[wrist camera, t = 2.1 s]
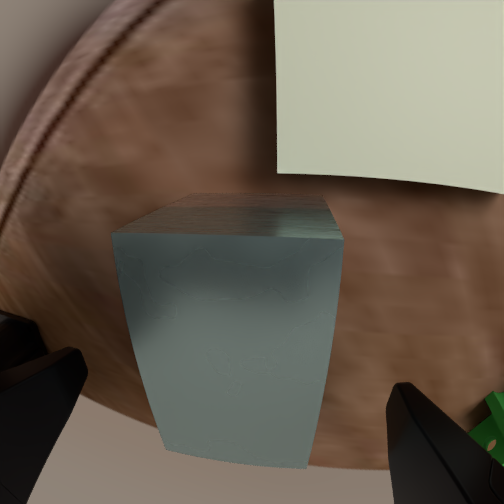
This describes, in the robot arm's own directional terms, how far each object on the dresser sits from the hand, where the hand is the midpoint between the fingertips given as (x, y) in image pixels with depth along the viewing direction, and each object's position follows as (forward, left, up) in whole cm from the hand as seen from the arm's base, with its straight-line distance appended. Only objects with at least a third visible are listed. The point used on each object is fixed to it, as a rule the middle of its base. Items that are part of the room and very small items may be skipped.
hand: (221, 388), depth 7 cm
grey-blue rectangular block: (0, 0, -6) cm, 6 cm away
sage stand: (+6, +9, -6) cm, 12 cm away
